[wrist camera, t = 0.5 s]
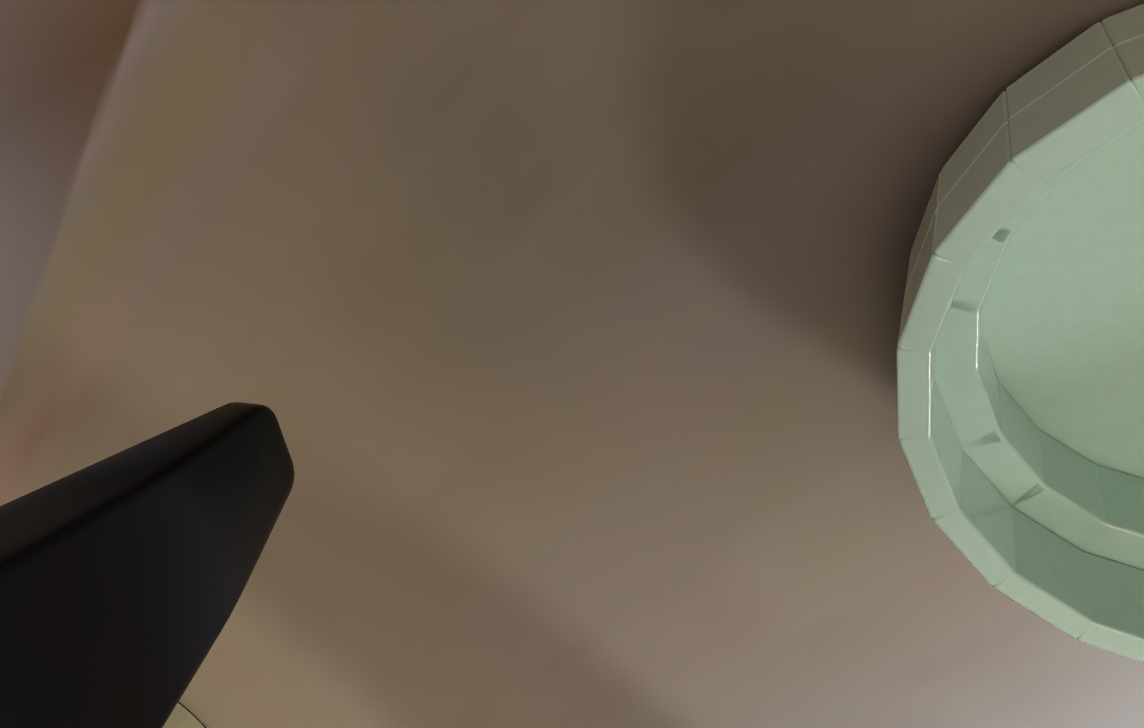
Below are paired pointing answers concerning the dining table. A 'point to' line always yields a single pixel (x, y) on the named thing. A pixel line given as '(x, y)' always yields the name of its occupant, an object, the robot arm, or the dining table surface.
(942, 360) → the basin
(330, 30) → the dining table surface
